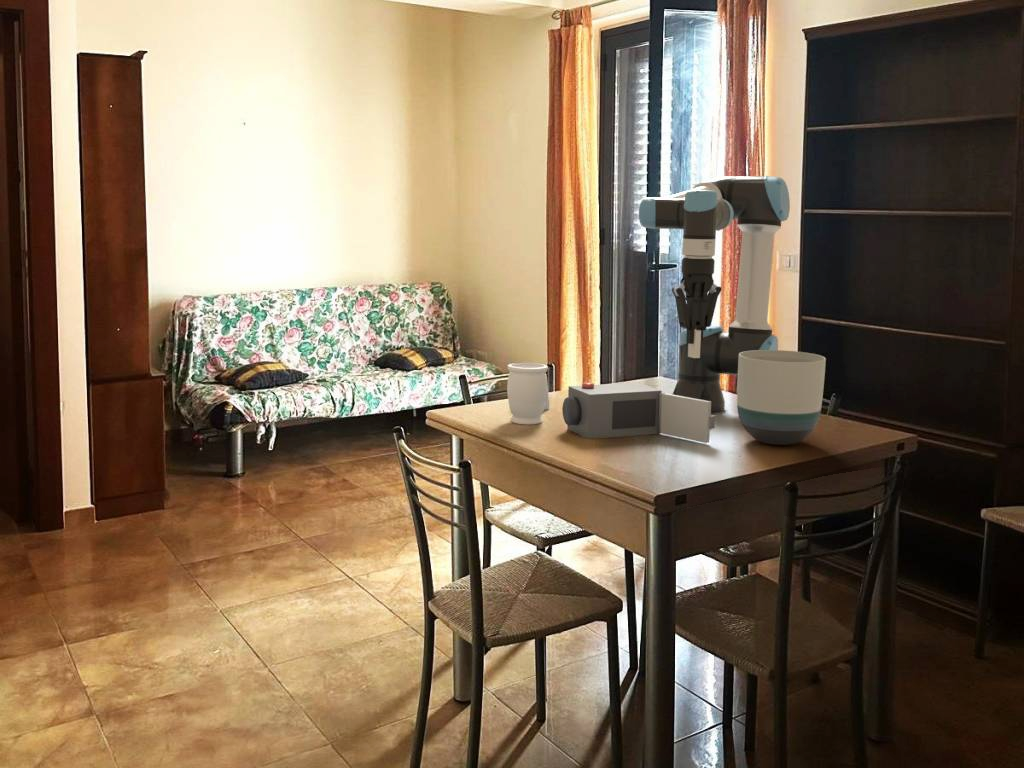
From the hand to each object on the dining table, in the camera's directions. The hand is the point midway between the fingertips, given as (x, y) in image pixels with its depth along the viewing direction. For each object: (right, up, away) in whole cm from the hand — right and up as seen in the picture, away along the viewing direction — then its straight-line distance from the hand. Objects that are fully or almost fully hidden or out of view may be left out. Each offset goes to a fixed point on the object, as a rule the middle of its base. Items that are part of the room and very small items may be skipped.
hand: (693, 357), depth 255 cm
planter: (+21, -21, +7) cm, 31 cm away
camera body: (-18, -18, +17) cm, 30 cm away
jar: (-39, -16, +26) cm, 50 cm away
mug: (-37, -14, +43) cm, 59 cm away
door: (-1, -19, +9) cm, 22 cm away
